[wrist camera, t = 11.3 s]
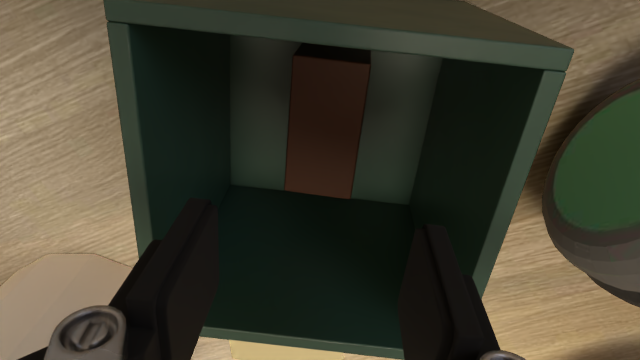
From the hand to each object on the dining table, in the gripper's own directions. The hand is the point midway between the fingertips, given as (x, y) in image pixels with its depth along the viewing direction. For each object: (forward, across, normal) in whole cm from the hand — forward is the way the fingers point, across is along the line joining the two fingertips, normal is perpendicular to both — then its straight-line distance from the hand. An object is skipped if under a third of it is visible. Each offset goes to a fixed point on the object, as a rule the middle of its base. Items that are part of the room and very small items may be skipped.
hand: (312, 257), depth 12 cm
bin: (+13, 0, 0) cm, 13 cm away
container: (+14, +16, +20) cm, 29 cm away
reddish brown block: (+13, 0, 0) cm, 13 cm away
